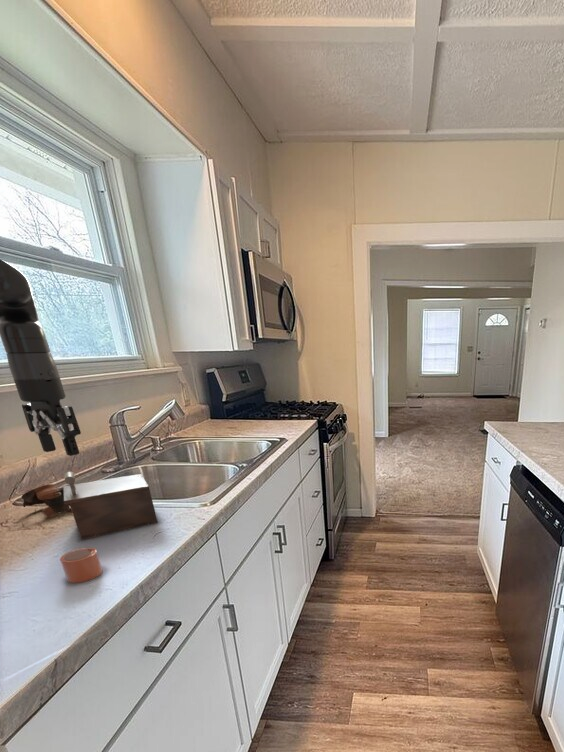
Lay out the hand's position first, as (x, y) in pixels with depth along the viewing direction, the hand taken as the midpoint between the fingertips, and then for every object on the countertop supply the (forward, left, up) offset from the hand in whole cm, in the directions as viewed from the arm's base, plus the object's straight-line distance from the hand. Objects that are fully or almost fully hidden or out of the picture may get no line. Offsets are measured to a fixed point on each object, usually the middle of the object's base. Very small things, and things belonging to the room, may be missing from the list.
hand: (61, 453), depth 89 cm
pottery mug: (+1, +21, -19) cm, 28 cm away
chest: (+6, -2, -19) cm, 20 cm away
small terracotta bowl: (-10, -23, -19) cm, 31 cm away
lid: (+6, -2, -10) cm, 12 cm away
